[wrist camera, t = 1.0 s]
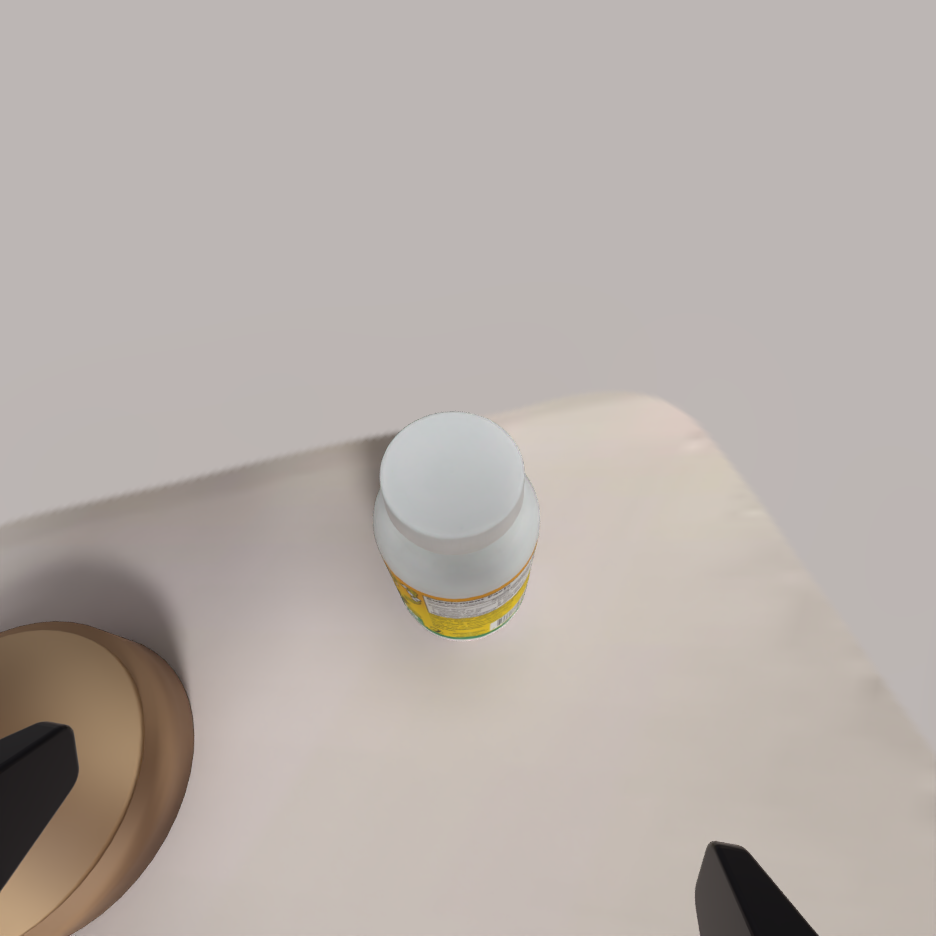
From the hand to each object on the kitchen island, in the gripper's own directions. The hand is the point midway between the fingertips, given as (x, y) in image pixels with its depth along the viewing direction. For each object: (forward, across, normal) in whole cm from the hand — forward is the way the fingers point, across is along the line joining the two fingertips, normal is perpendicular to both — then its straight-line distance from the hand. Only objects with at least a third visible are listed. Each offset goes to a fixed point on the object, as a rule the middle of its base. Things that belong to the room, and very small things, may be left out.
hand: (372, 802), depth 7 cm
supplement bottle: (+15, 0, +4) cm, 16 cm away
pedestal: (+8, +14, +11) cm, 20 cm away
